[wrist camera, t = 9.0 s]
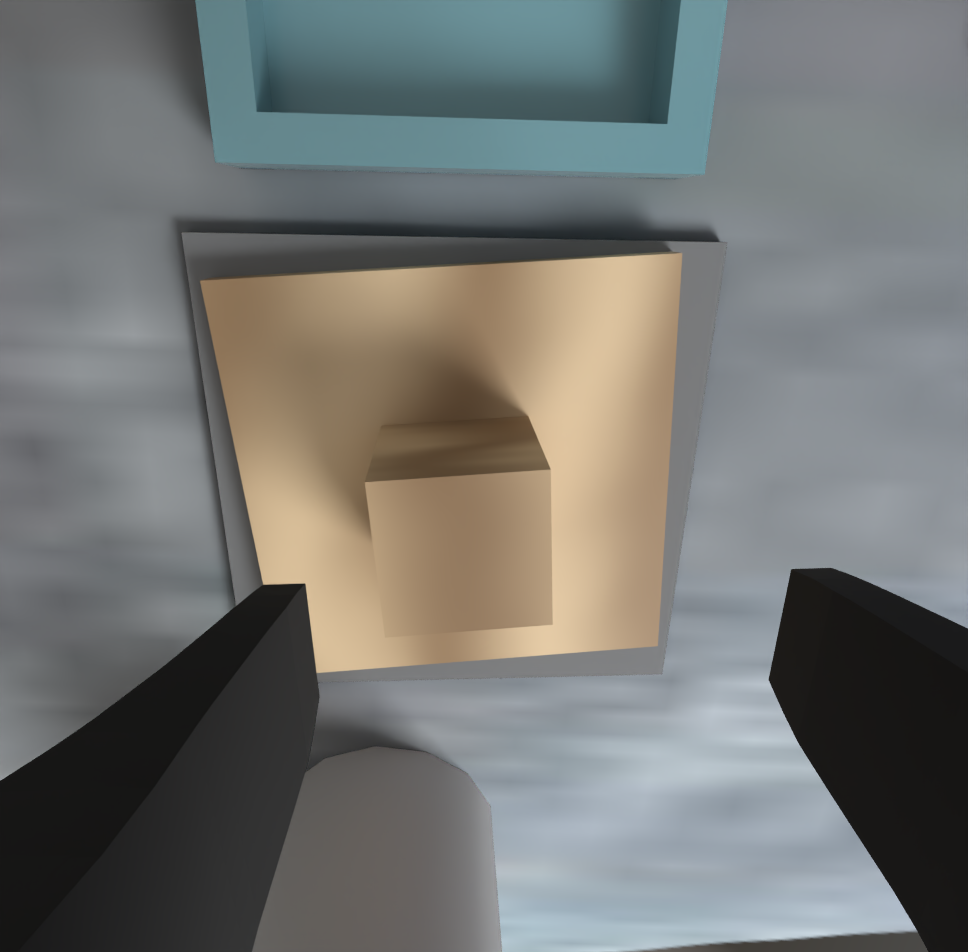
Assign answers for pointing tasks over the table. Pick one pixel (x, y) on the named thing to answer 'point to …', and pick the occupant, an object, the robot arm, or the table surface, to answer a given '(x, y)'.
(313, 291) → the oak cover
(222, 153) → the teal dish
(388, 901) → the cup
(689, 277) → the rubber mat
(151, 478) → the table surface
